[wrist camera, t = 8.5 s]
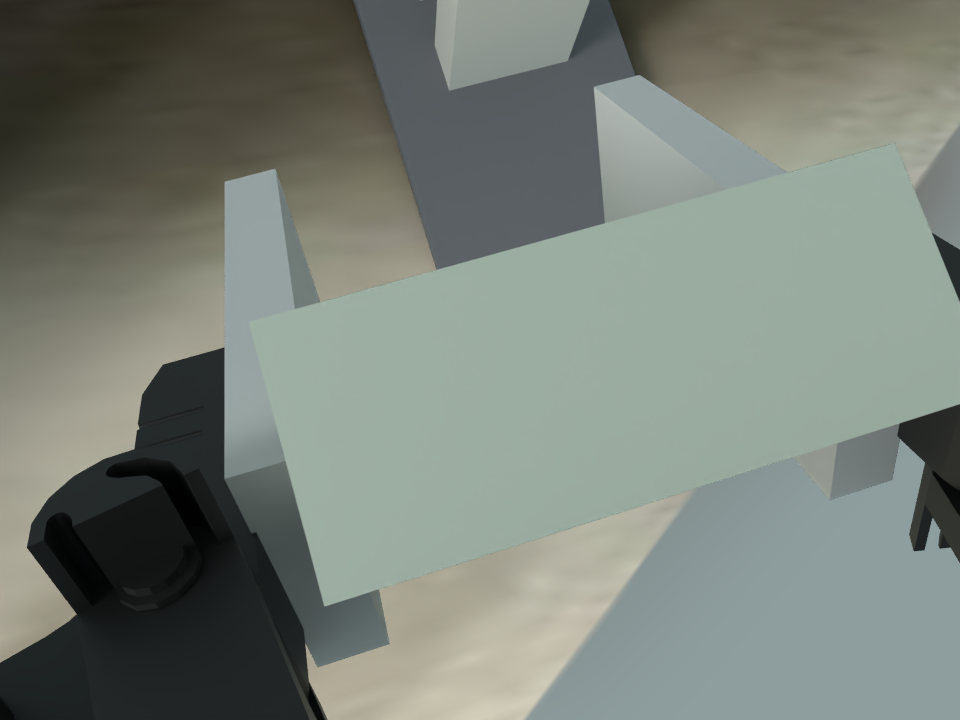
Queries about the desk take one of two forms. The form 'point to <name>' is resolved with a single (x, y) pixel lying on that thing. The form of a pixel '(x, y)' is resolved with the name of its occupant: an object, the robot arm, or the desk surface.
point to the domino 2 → (607, 368)
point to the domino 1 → (503, 37)
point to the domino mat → (494, 133)
